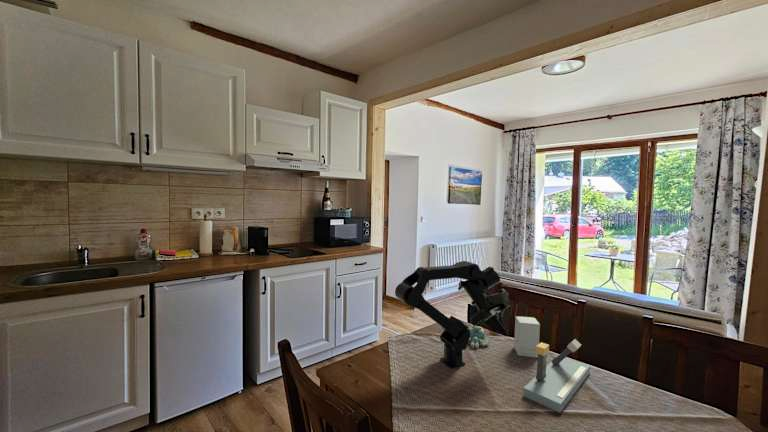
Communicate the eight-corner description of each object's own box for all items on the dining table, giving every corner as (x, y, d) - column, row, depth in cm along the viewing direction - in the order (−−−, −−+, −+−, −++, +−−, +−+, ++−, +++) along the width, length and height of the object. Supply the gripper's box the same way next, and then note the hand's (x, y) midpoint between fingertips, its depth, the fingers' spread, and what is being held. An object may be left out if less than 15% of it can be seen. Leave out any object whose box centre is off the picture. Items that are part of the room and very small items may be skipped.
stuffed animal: (460, 334, 124) (464, 318, 135) (460, 350, 126) (464, 333, 137) (489, 339, 120) (491, 322, 131) (488, 355, 122) (490, 337, 133)
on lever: (549, 361, 108) (571, 342, 103) (553, 357, 111) (575, 338, 106) (555, 367, 106) (578, 348, 102) (559, 363, 109) (581, 344, 104)
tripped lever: (534, 380, 98) (536, 346, 97) (539, 375, 101) (541, 342, 100) (542, 383, 96) (544, 348, 95) (547, 378, 99) (549, 344, 98)
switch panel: (523, 396, 94) (523, 387, 94) (557, 361, 115) (557, 354, 115) (560, 412, 87) (560, 403, 87) (589, 373, 108) (590, 365, 108)
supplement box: (538, 358, 118) (540, 324, 117) (517, 355, 119) (519, 322, 118) (533, 349, 125) (535, 317, 124) (513, 346, 126) (515, 315, 126)
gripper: (480, 286, 102) (513, 330, 95) (506, 277, 116) (536, 316, 108) (458, 304, 108) (487, 347, 101) (484, 294, 121) (511, 331, 114)
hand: (506, 334), depth 106 cm, fingers closed
